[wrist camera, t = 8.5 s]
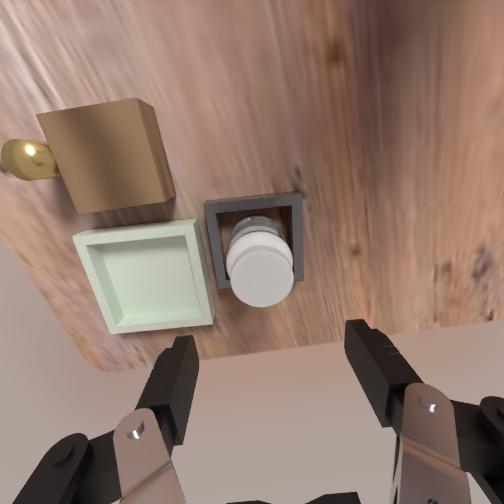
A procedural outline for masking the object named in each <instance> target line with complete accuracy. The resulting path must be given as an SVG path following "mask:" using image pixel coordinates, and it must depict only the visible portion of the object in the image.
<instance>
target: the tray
mask: <svg viewBox="0 0 504 504" xmlns="http://www.w3.org/2000/svg"><path fill="white" fill-rule="evenodd" d="M72 238H73V241H74V243H75V246H76V248H77V251H78V253H79V256H80V258H81V261H82V263H83V266H84V268H85V271H86V273H87V276H88V279H89V281H90V284H91V286H92V289H93V291H94V294H95V296H96V299H97V301H98V304H99V306H100V309H101V311H102V314H103V316H104V319H105V321H106V324H107V326H108V329H109V331H110V334H118V333H128V332H138V331H149V330H159V329H169V328H179V327H190V326H200V325H210V324H213V321H214V316H215V307H214V302H213V296H212V291H211V285H210V280H209V275H208V269H207V264H206V259H205V253H204V248H203V243H202V237H201V232H200V226H199V221H198V218H194V219H185V220H175V221H165V222H156V223H146V224H136V225H127V226H117V227H107V228H98V229H88V230H85V231H83V232H81V233H79V234H77V235H75V236H72Z"/></svg>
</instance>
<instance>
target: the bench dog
mask: <svg viewBox="0 0 504 504" xmlns="http://www.w3.org/2000/svg"><path fill="white" fill-rule="evenodd" d="M1 156H2V160H3V163H4V165H5V166H6V168H7V169H8V170H9V171H10V172H11V173H12V174H13V175H14V176H16V177H18V178H20V179H22V180H27V181H32V180H41V179H50V178H59V177H62V175H61V173H60V170H59V168H58V166H57V163H56V161H55V159H54V156H53V154H52V152H51V149H50V147H49V144H48V142H46V141H33V140H20V139H12V140H9V141H7V142H6V143H5V144H4V145H3V147H2V151H1Z"/></svg>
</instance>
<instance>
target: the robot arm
mask: <svg viewBox="0 0 504 504" xmlns="http://www.w3.org/2000/svg"><path fill="white" fill-rule="evenodd" d="M344 348H345V353H346V356H347V359H348V360H349V363H350V364H351V366H352V368H353V370H354V372H355V374H356V376H357V378H358V380H359V382H360V384H361V386H362V388H363V390H364V392H365V394H366V396H367V398H368V400H369V402H370V404H371V406H372V408H373V410H374V412H375V414H376V416H377V418H378V420H379V422H380V424H381V426H382V427H383V428H384V427H393V429H394V431H395V433H396V442H395V452H394V463H393V475H392V485H391V494H390V501H389V504H471V496H470V489H469V482H468V477H467V474H466V472H469V473H471V475H472V476H473V477H474V479H475V480H476V482H477V483H478V485H479V486H480V487H481V489H482V490H483V492H484V493H485V495H486V496H487V498H488V499H489V500H490V502H491V503H492V504H504V398H501V397H495V396H488V397H485V398H483V399H482V400H481V403H480V405H473V404H469V403H464V402H458V401H454V400H450V399H448V398H447V396H445V395H444V394H443V393H442V392H441V391H439V390H438V389H436V388H434V387H432V386H430V385H427V384H424V382H423V381H422V380H421V379H420V377H419V376H418V375H417V374H416V372H415V371H414V370H413V369H412V367H411V366H410V365H409V364H408V362H407V361H406V360H405V359H404V357H403V356H402V355H401V354H400V353H399V351H398V349H397V348H396V347H395V346H394V345H393V343H392V342H391V341H390V339H389V338H388V337H387V336H386V335H385V334H383V333H382V332H380V331H379V330H378V329H370V327H369V326H368V324H367V323H366V322H365V320H363V319H355V320H347V321H346V324H345V341H344ZM198 372H199V358H198V354H197V349H196V345H195V341H194V337H193V335H185V336H177V337H176V338H175V341H174V343H173V346H172V348H166V349H165V350H164V351H163V352H162V353H161V354H160V355H159V356H158V358H157V360H156V363H155V365H154V369H153V370H152V372H151V374H150V377H149V379H148V381H147V383H146V386H145V388H144V390H143V393H142V395H141V397H140V399H139V402H138V404H137V406H136V408H135V410H134V411H133V412H131V413H129V414H128V415H127V416H126V417H124V418H123V419H122V420H121V422H120V423H119V424H118V426H117V427H116V429H115V430H113V431H111V432H109V433H106V434H103V435H101V436H99V437H96V438H94V439H91V440H88V438H87V437H86V436H85V435H84V434H82V433H75V434H72V435H69V436H67V437H65V438H63V439H61V440H60V441H59V442H57V443H56V444H55V445H54V446H52V447H51V448H50V449H49V451H48V452H47V453H46V454H45V455H44V457H43V458H42V460H41V461H40V463H39V464H38V466H37V467H36V469H35V470H34V472H33V473H32V475H31V476H30V478H29V479H28V481H27V482H26V484H25V485H24V487H23V488H22V490H21V491H20V493H19V494H18V496H17V497H16V499H15V500H14V502H13V503H12V504H111V503H113V502H115V501H117V500H119V499H121V498H122V499H121V500H120V503H119V504H187V503H186V501H185V497H184V495H183V492H182V489H181V486H180V483H179V480H178V478H177V475H176V472H175V469H174V466H173V463H172V460H171V455H172V450H173V447H174V446H175V445H182V444H183V441H184V436H185V432H186V427H187V422H188V418H189V413H190V409H191V404H192V399H193V395H194V390H195V385H196V381H197V376H198ZM227 504H270V503H266V502H263V501H259V500H257V501H246V502H234V503H227ZM306 504H361V503H360V500H359V497H358V494H357V492H349V493H337V494H325V495H323V496H321V497H319V498H316V499H314V500H312V501H310V502H308V503H306Z"/></svg>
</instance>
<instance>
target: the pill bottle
mask: <svg viewBox="0 0 504 504" xmlns="http://www.w3.org/2000/svg"><path fill="white" fill-rule="evenodd" d="M226 267H227V272H228V275H229V277H230V281H231V287H232V289H233V292H234V293H235V295H236V296H237V297H238V298H239V299H240V300H241V301H242V302H244V303H246V304H248V305H250V306H254V307H269V306H272V305H275V304H277V303H279V302H281V301H282V300H283V299H284V298H285V297H286V296H287V295H288V294H289V292H290V291H291V289H292V286H293V281H294V275H293V271H292V267H293V258H292V254H291V251H290V248H289V246H288V244H287V242H286V240H285V238H284V236H283V234H282V232H281V230H280V228H279V227H278V225H277V224H276V223H275V222H274V221H273V220H271V219H270V218H268V217H266V216H262V215H251V216H248V217H245V218H243V219H242V220H240V221H239V222H238V223H237V224H236V225H235V227H234V228H233V230H232V233H231V237H230V243H229V248H228V253H227V261H226Z"/></svg>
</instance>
